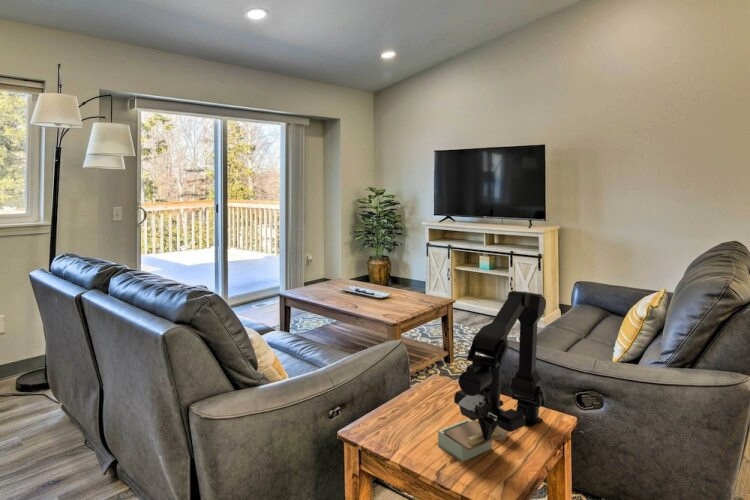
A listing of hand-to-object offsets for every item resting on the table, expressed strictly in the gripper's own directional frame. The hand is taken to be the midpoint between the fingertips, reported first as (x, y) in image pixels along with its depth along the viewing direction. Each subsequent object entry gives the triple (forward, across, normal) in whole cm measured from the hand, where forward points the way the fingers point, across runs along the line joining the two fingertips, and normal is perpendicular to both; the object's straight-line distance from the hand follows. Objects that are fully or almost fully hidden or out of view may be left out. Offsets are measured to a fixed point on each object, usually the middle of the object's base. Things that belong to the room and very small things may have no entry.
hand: (486, 439), depth 116 cm
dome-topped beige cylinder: (+6, -6, +12) cm, 15 cm away
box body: (+6, -8, 0) cm, 9 cm away
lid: (+1, -5, 0) cm, 5 cm away
